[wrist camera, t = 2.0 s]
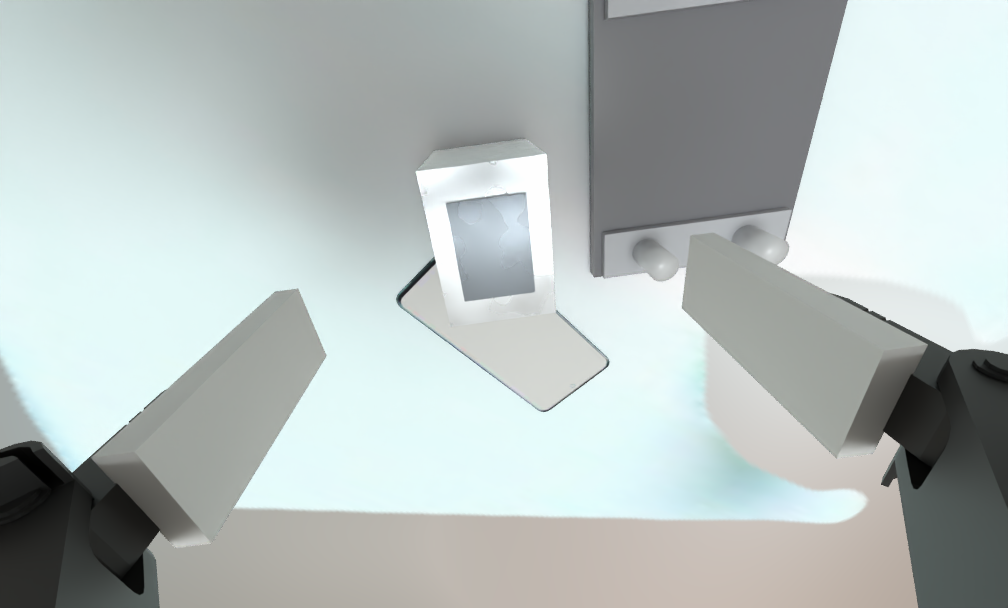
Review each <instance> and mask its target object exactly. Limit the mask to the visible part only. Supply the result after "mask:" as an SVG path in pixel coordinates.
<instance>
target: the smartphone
mask: <svg viewBox="0 0 1008 608" xmlns="http://www.w3.org/2000/svg"><path fill="white" fill-rule="evenodd" d="M396 301H397V303H398V305H399V306H400V307H401V308H402V309H404V310H405V311H406V312H408V313H409V314H410V315H412V316H413V317H414V318H416V319H417V320H418V321H420V322H421V323H422V324H424V325H425V326H426V327H428V328H429V329H430V330H432V331H433V332H434V333H436V334H437V335H438V336H440V337H441V338H442V339H444V340H445V341H446V342H448V343H449V344H450V345H452V346H453V347H454V348H456V349H457V350H458V351H460V352H461V353H462V354H464V355H465V356H466V357H468V358H469V359H470V360H472V361H473V362H474V363H476V364H477V365H478V366H480V367H481V368H482V369H484V370H485V371H486V372H488V373H489V374H490V375H492V376H493V377H494V378H496V379H497V380H498V381H500V382H501V383H502V384H504V385H505V386H506V387H508V388H509V389H511V390H512V391H513V392H515V393H516V394H517V395H519V396H520V397H521V398H523V399H524V400H525V401H527V402H528V403H529V404H531V405H532V406H533V407H535V408H536V409H537V410H539V411H541V412H546V411H549V410H550V409H552V408H553V407H555V406H556V405H557V404H559V403H560V402H561V401H563V400H564V399H565V398H567V397H568V396H569V395H571V394H572V393H573V392H575V391H576V390H577V389H579V388H580V387H581V386H583V385H584V384H585V383H587V382H588V381H589V380H591V379H592V378H594V377H595V376H596V375H598V374H599V373H600V372H602V371H603V370H604V369H606V368H607V367H608V365H609V359H608V358H607V357H606V356H605V355H604V354H603V353H602V352H601V351H600V350H599V349H597V348H596V347H595V346H594V345H593V344H592V343H591V342H590V341H589V340H588V339H587V338H586V337H585V336H583V335H582V334H581V333H580V332H579V331H578V330H577V329H576V328H575V327H574V326H573V325H572V324H570V323H569V322H568V321H567V320H566V319H565V318H564V317H563V316H562V315H561V314H560V313H559V312H558V311H556V313H550V314H542V315H535V316H527V317H520V318H513V319H505V320H498V321H491V322H483V323H476V324H469V325H461V326H454V327H450V323H449V318H448V314H447V309H446V305H445V300H444V296H443V291H442V287H441V283H440V278H439V274H438V269H437V265H436V260H435V257H434V258H433V259H432V260H431V261H430V262H429V263H428V264H427V265H426V266H425V267H424V268H423V269H422V270H421V271H420V272H419V273H418V274H417V275H416V276H415V277H414V278H413V279H412V281H411V282H410V283H409V284H408V285H407V286H406V287H405V288H404V289H403V290H402V291H401V292H400V293H399V294H398V296H397V299H396Z"/></svg>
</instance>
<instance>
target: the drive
mask: <svg viewBox="0 0 1008 608" xmlns="http://www.w3.org/2000/svg"><path fill="white" fill-rule="evenodd" d="M416 175H417V180H418V184H419V189H420V193H421V198H422V202H423V207H424V211H425V216H426V220H427V224H428V229H429V233H430V238H431V242H432V247H433V251H434V256H435V260H436V265H437V269H438V274H439V278H440V283H441V287H442V291H443V296H444V300H445V305H446V309H447V314H448V318H449V323H450V327H454V326H461V325H469V324H476V323H483V322H491V321H498V320H505V319H513V318H520V317H527V316H535V315H542V314H550V313H556V304H555V287H554V270H553V253H552V236H551V219H550V203H549V186H548V169H547V154H546V153H544V152H543V151H542V150H540V149H539V148H538V147H536V146H535V145H534V144H532V143H531V142H530V141H528V140H527V139H526V138H523V139H516V140H509V141H501V142H494V143H487V144H479V145H472V146H465V147H457V148H450V149H443V150H435V151H433V152H432V154H431V155H430V156H429V157H428V158H427V159H426V161H425V162H424V163H423V164H422V165H421V166H420V168H419V169H418V170H417V171H416Z"/></svg>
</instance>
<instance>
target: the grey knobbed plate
mask: <svg viewBox="0 0 1008 608" xmlns="http://www.w3.org/2000/svg"><path fill="white" fill-rule="evenodd" d="M847 1H848V0H589V40H590V227H591V273H592V275H593V276H594V277H601V276H603V277H604V278H610V277H617V276H624V275H632V274H639V273H648V274H649V275H650V276H651V277H652V278H653V279H654V280H656V281H666V280H669V279H670V278H672V277H673V276H674V275H675V274H676V272H677V271H678V268H684V267H687V260H688V252H689V244H690V236H691V235H697V234H705V233H712V232H714V233H716V234H718V235H719V236H721V237H723V238H725V239H727V240H729V241H731V242H733V243H735V244H737V245H739V246H741V247H742V248H744V249H746V250H748V251H750V252H752V253H754V254H756V255H758V256H760V257H762V258H763V259H765V260H767V261H769V262H771V263H773V264H775V265H777V264H779V263H780V262H782V261H783V260H784V259H785V257H786V256H787V254H788V251H789V245H788V243H787V242H786V241H785V239H786V235H787V231H788V228H789V224H790V220H791V216H792V212H793V208H794V205H795V201H796V197H797V193H798V189H799V185H800V182H801V178H802V174H803V170H804V166H805V162H806V159H807V155H808V151H809V147H810V143H811V139H812V135H813V132H814V128H815V124H816V120H817V116H818V112H819V109H820V105H821V101H822V97H823V93H824V89H825V86H826V82H827V78H828V74H829V70H830V66H831V63H832V59H833V55H834V51H835V47H836V43H837V40H838V36H839V32H840V28H841V24H842V20H843V16H844V13H845V9H846V5H847Z"/></svg>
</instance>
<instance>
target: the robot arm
mask: <svg viewBox="0 0 1008 608" xmlns="http://www.w3.org/2000/svg"><path fill="white" fill-rule="evenodd" d="M682 309H683V310H684V311H685V312H686V313H688V314H689V315H690V316H691V317H692V318H693V319H694V320H695V321H696V322H697V323H698V324H699V325H700V326H701V327H702V328H703V329H704V330H705V331H706V332H707V333H708V334H709V335H710V336H711V337H712V338H713V339H714V340H715V341H716V342H717V343H718V344H719V345H720V346H721V347H722V348H724V349H725V350H726V351H727V352H728V353H729V354H730V355H731V356H732V357H733V358H734V359H735V360H736V361H737V362H738V363H739V364H740V365H741V366H742V367H743V368H744V369H745V370H746V371H747V372H748V373H749V374H750V375H751V376H752V377H753V378H754V379H755V380H756V381H757V382H758V383H760V384H761V385H762V386H763V387H764V388H765V389H766V390H767V391H768V392H769V393H770V394H771V395H772V396H773V397H774V398H775V399H776V400H777V401H778V402H779V403H780V404H781V405H782V406H783V407H784V408H785V409H786V410H787V411H788V412H789V413H790V414H791V415H792V416H793V417H794V418H795V419H796V420H797V421H798V422H800V423H801V425H803V426H804V427H805V428H806V429H807V430H808V431H809V432H810V433H811V434H812V435H813V436H814V437H815V438H816V439H817V440H818V441H819V442H820V443H821V444H822V445H823V446H824V447H825V448H826V449H827V450H828V451H829V452H831V454H832V455H833V456H834V457H835V458H837V459H838V458H845V457H853V456H860V455H867V454H873V453H874V451H875V449H876V447H877V445H878V443H879V440H880V439H881V437H882V435H883V433H884V432H885V433H887V434H888V435H889V436H890V437H892V438H893V439H894V440H896V441H897V442H898V443H899V444H900V447H899V449H898V451H897V452H896V454H895V456H894V458H893V460H892V461H891V463H890V465H889V467H888V469H887V471H886V472H885V474H884V476H883V479H882V483H881V485H884V486H887V487H889V485H890V483H891V482H892V480H893V479H895V478H898V484H899V491H900V495H901V502H902V508H903V515H904V521H905V526H906V533H907V539H908V546H909V551H910V558H911V564H912V571H913V577H914V583H915V589H916V595H917V602H918V608H1008V354H1004V353H999V352H995V351H986V350H978V349H969V350H958V351H956V352H954V353H953V352H951V351H949V350H947V349H946V348H944V347H941V346H940V345H938V344H936V343H934V342H932V341H930V340H928V339H926V338H924V337H922V336H920V335H918V334H916V333H914V332H912V331H910V330H908V329H906V328H905V327H903V326H900V325H899V324H897V323H895V322H893V321H891V320H888V321H887V320H886V318H885V317H883V316H881V315H879V314H877V313H875V312H873V311H870V312H869V311H868V309H867V308H865V307H863V306H862V305H860V304H858V303H856V302H853V301H852V300H850V299H848V298H844V297H841V296H838V295H835V294H831V293H829V292H826V291H825V290H823V289H821V288H819V287H817V286H815V285H813V284H811V283H809V282H807V281H806V280H804V279H802V278H800V277H798V276H796V275H794V274H792V273H790V272H788V271H786V270H785V269H783V268H781V267H779V266H777V265H775V264H773V263H771V262H769V261H767V260H765V259H763V258H762V257H760V256H758V255H756V254H754V253H752V252H750V251H748V250H746V249H744V248H742V247H741V246H739V245H737V244H735V243H733V242H731V241H729V240H727V239H725V238H723V237H721V236H719V235H718V234H716V233H714V232H712V233H705V234H697V235H691V236H690V244H689V252H688V260H687V269H686V277H685V285H684V294H683V302H682ZM325 358H326V354H325V351H324V349H323V347H322V344H321V342H320V339H319V337H318V335H317V332H316V330H315V328H314V325H313V323H312V321H311V318H310V316H309V313H308V311H307V309H306V306H305V304H304V302H303V299H302V297H301V294H300V292H299V290H298V289H291V290H284V291H276V292H274V293H273V294H272V295H271V296H270V297H269V298H268V299H266V300H265V301H264V302H263V303H262V304H261V305H260V306H259V307H258V308H256V309H255V310H254V311H253V312H252V313H251V314H250V315H249V316H248V317H246V318H245V319H244V320H243V321H242V322H241V323H240V324H239V325H238V326H236V327H235V328H234V329H233V330H232V331H231V332H230V333H229V334H228V335H227V336H225V337H224V338H223V339H222V340H221V341H220V342H219V343H218V344H217V345H215V346H214V347H213V348H212V349H211V350H210V351H209V352H208V353H207V354H205V355H204V356H203V357H202V358H201V359H200V360H199V361H198V362H197V363H195V364H194V365H193V366H192V367H191V368H190V369H189V370H188V371H187V372H185V373H184V374H183V375H182V376H181V377H180V378H179V379H178V380H177V381H175V382H174V383H173V384H172V385H171V386H170V387H169V388H168V389H167V390H165V391H163V392H162V393H161V394H159V395H158V396H157V397H156V398H155V399H154V400H153V401H152V402H151V403H149V404H148V405H147V406H146V407H145V408H144V410H143V411H142V412H139V413H138V414H137V415H136V416H135V417H134V418H133V419H132V420H130V421H129V424H128V425H125V426H124V427H123V428H122V429H120V430H119V431H118V432H117V433H116V434H115V435H114V436H113V437H111V438H110V439H109V440H108V441H107V442H106V443H105V444H104V445H103V446H101V447H100V448H99V449H98V450H97V451H96V452H95V453H94V454H93V455H91V456H90V457H89V458H88V459H87V460H86V461H85V462H84V463H83V464H81V465H80V466H79V467H78V468H77V469H76V470H75V471H74V472H71V471H70V470H69V469H68V468H67V467H66V466H65V465H64V464H63V463H62V462H61V461H60V460H59V459H58V458H57V457H56V456H55V455H54V454H53V453H52V452H51V451H50V450H49V449H48V448H47V447H46V446H45V445H43V443H42V442H36V441H28V442H23V443H18V444H14V445H11V446H8V447H6V448H3V449H1V450H0V608H160V607H159V594H158V581H157V569H156V559H155V557H154V555H153V554H152V553H151V551H150V550H149V549H147V547H148V546H149V544H150V543H151V542H152V540H153V539H154V537H155V536H156V535H157V533H158V532H159V531H160V532H161V533H162V534H163V535H164V537H166V539H167V540H168V541H169V542H170V543H171V544H172V545H173V546H174V547H175V548H181V547H188V546H194V545H203V544H210V543H212V542H213V541H214V539H215V537H216V536H217V534H218V532H219V531H220V529H221V528H222V526H223V524H224V523H225V521H226V519H227V518H228V516H229V514H230V513H231V511H232V510H233V508H234V506H235V505H236V503H237V501H238V500H239V498H240V496H241V495H242V493H243V492H244V490H245V488H246V487H247V485H248V483H249V482H250V480H251V479H252V477H253V475H254V474H255V472H256V470H257V469H258V467H259V465H260V464H261V462H262V461H263V459H264V457H265V456H266V454H267V452H268V451H269V449H270V447H271V446H272V444H273V443H274V441H275V439H276V438H277V436H278V434H279V433H280V431H281V429H282V428H283V426H284V425H285V423H286V421H287V420H288V418H289V416H290V415H291V413H292V412H293V410H294V408H295V407H296V405H297V403H298V402H299V400H300V398H301V397H302V395H303V394H304V392H305V390H306V389H307V387H308V385H309V384H310V382H311V380H312V379H313V377H314V376H315V374H316V372H317V371H318V369H319V367H320V366H321V364H322V363H323V361H324V359H325Z"/></svg>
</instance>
